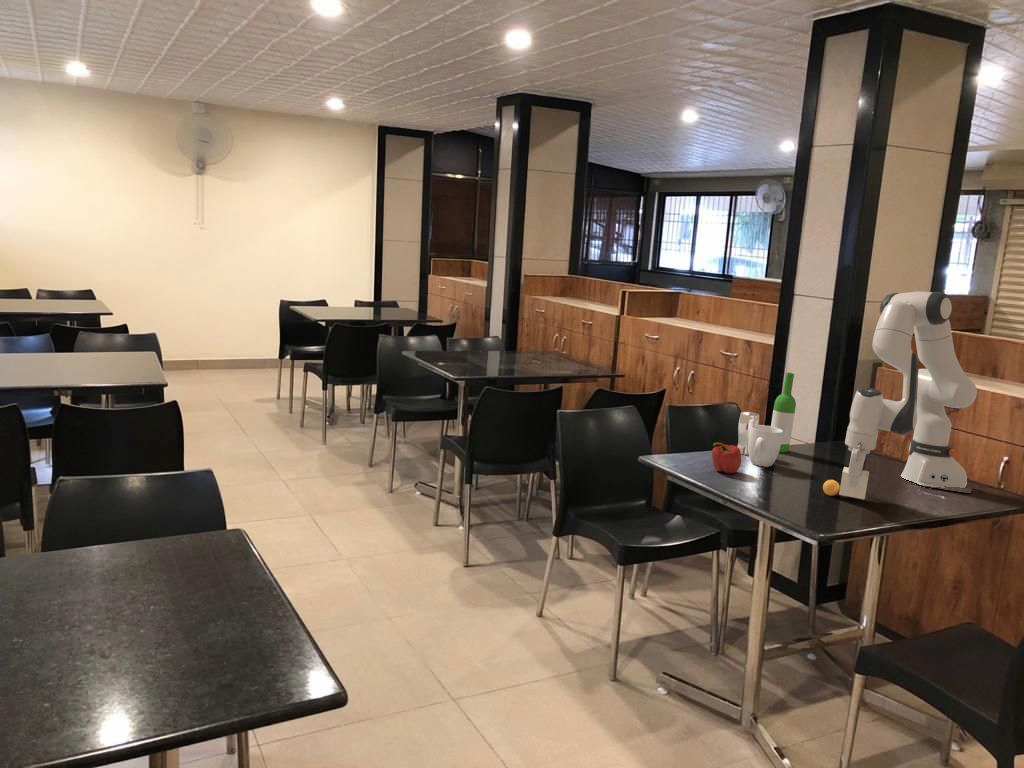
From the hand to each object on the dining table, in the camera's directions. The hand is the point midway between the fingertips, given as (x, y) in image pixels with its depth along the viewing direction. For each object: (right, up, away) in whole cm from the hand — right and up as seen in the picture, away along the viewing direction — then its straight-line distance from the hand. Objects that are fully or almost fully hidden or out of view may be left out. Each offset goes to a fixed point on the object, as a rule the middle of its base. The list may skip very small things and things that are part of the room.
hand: (853, 483), depth 256 cm
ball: (-6, -2, +3) cm, 7 cm away
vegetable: (-35, +1, +20) cm, 40 cm away
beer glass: (-21, +5, +48) cm, 52 cm away
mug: (-19, +2, +33) cm, 38 cm away
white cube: (0, -3, 0) cm, 3 cm away
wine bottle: (-5, +6, +57) cm, 57 cm away
